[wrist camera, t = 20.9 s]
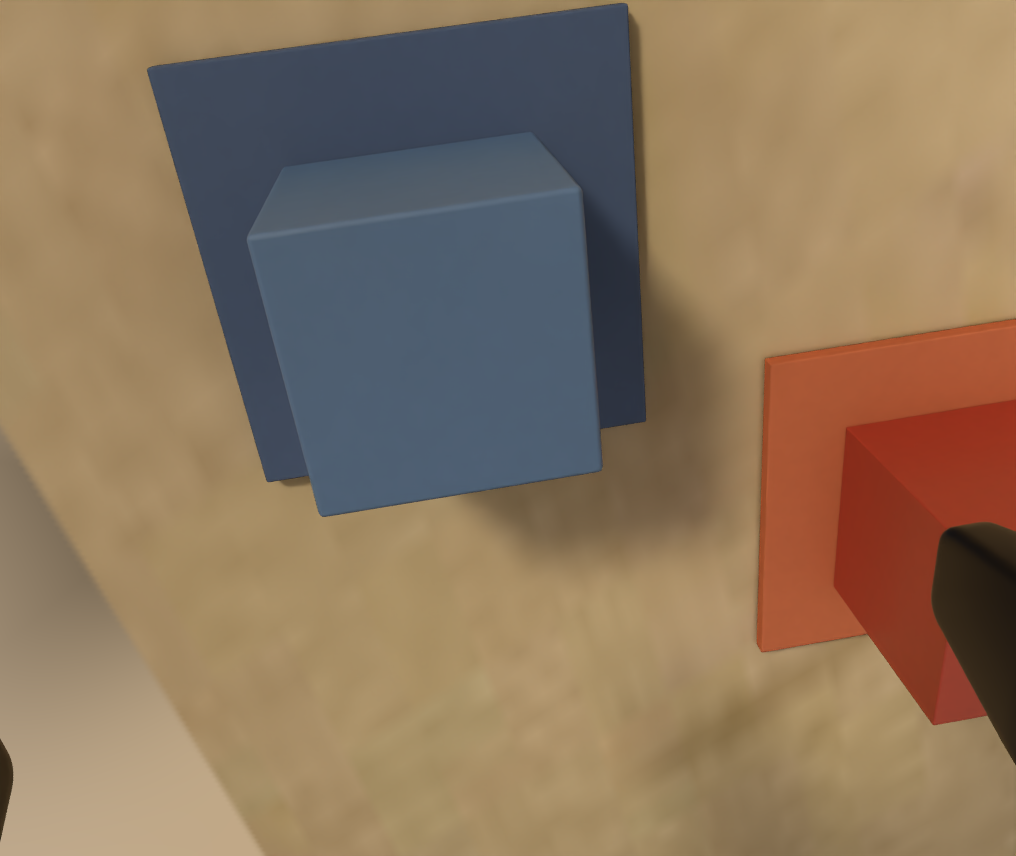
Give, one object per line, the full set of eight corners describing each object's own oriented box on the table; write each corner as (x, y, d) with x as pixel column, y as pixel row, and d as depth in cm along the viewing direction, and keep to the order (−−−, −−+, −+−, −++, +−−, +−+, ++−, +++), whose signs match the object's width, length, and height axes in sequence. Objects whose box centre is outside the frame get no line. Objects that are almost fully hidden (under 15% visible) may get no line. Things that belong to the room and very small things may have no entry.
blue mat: (642, 414, 21) (646, 422, 21) (269, 474, 21) (266, 483, 20) (623, 2, 17) (628, 3, 16) (151, 66, 16) (145, 68, 16)
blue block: (556, 359, 20) (604, 473, 15) (334, 394, 19) (318, 519, 15) (533, 130, 17) (583, 186, 13) (281, 166, 17) (243, 236, 13)
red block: (1007, 556, 24) (1145, 687, 20) (832, 586, 24) (932, 726, 19) (1039, 394, 22) (1204, 503, 17) (845, 426, 21) (963, 545, 17)
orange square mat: (1055, 591, 25) (1064, 599, 25) (756, 643, 25) (761, 653, 25) (1124, 301, 21) (1136, 306, 21) (764, 358, 21) (770, 364, 20)
